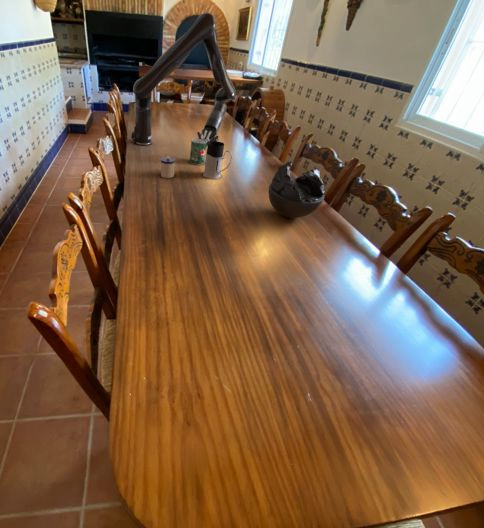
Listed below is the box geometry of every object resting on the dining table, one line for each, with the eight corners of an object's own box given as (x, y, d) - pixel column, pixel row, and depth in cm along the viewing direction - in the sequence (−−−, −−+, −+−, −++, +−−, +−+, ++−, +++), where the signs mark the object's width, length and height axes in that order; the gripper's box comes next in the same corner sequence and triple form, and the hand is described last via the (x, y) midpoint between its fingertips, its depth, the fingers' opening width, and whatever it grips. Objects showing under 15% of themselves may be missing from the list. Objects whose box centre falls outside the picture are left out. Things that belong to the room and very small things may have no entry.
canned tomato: (189, 159, 161) (191, 137, 154) (204, 160, 161) (206, 138, 154) (189, 164, 154) (191, 142, 148) (204, 165, 154) (207, 143, 148)
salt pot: (158, 177, 139) (159, 157, 134) (162, 171, 144) (162, 152, 139) (173, 178, 138) (174, 159, 133) (175, 173, 144) (176, 154, 138)
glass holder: (210, 170, 149) (214, 139, 140) (233, 179, 141) (239, 147, 132) (199, 174, 144) (202, 142, 135) (222, 184, 136) (227, 151, 127)
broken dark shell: (324, 228, 110) (345, 179, 98) (272, 227, 108) (287, 178, 97) (302, 203, 126) (318, 158, 114) (256, 202, 124) (267, 157, 112)
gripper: (201, 115, 157) (188, 144, 156) (224, 119, 152) (211, 149, 152) (204, 123, 164) (192, 152, 163) (226, 128, 159) (214, 157, 159)
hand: (201, 150), depth 158 cm, fingers closed
